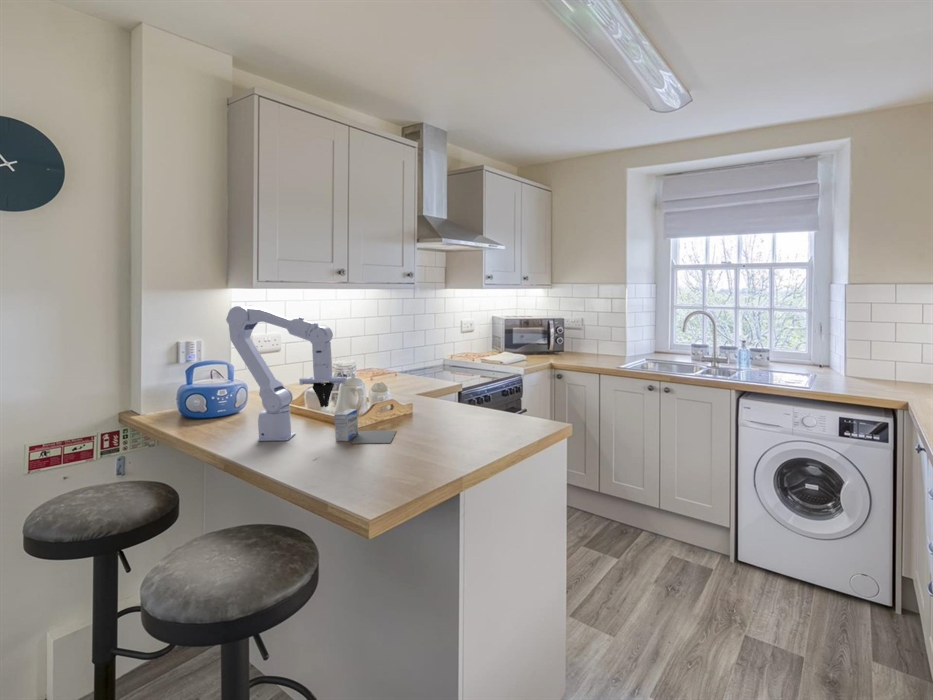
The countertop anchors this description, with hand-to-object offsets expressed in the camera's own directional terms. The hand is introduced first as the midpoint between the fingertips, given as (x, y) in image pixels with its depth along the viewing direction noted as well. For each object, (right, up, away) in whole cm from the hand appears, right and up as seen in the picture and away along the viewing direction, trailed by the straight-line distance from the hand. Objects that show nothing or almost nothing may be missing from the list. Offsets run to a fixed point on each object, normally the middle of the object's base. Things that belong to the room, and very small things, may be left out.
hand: (324, 406), depth 164 cm
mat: (+16, -10, +1) cm, 19 cm away
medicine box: (+7, -11, +1) cm, 13 cm away
